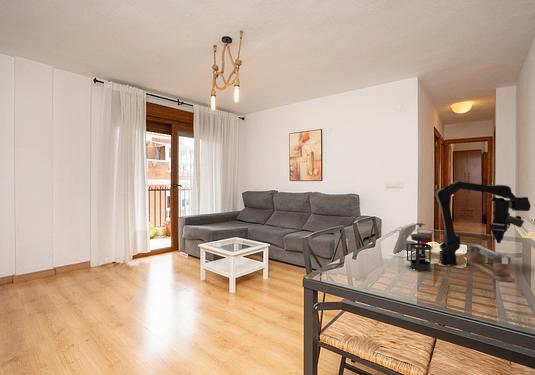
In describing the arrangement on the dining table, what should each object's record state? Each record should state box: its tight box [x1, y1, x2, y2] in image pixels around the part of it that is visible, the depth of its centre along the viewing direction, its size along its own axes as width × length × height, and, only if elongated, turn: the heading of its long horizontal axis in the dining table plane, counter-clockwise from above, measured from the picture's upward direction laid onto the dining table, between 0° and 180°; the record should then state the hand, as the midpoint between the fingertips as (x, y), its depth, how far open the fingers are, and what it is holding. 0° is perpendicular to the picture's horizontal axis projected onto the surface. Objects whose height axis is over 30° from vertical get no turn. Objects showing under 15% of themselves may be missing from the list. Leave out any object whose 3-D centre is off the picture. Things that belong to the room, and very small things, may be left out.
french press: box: [406, 222, 432, 272], centre depth 140 cm, size 12×9×23 cm
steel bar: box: [472, 244, 509, 264], centre depth 132 cm, size 2×22×3 cm, turn 171°
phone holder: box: [393, 222, 417, 254], centre depth 167 cm, size 17×10×18 cm, turn 130°
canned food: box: [417, 229, 433, 247], centre depth 176 cm, size 8×8×11 cm
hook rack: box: [467, 245, 516, 283], centre depth 132 cm, size 6×24×10 cm, turn 171°
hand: (499, 241), depth 138 cm, fingers open, 9 cm apart
